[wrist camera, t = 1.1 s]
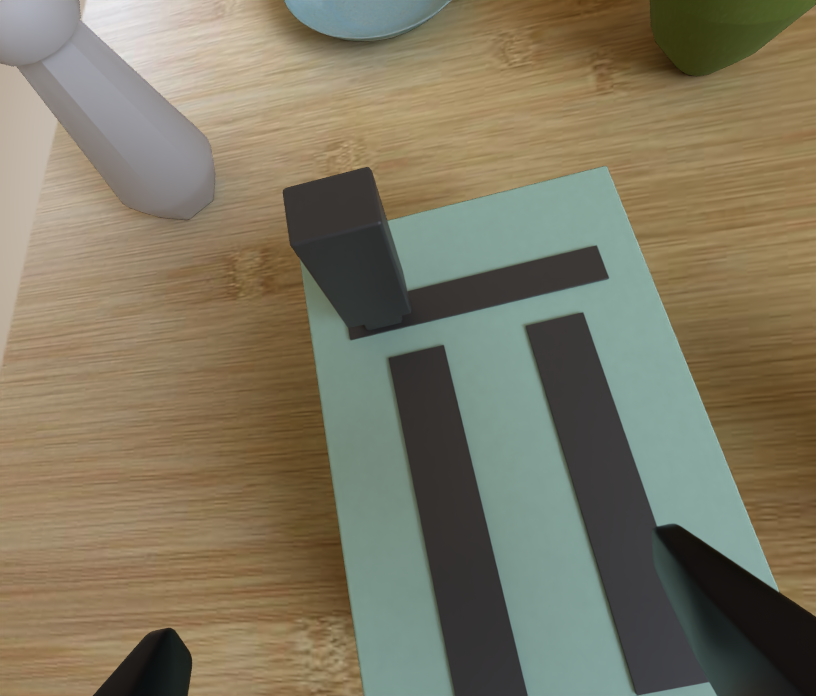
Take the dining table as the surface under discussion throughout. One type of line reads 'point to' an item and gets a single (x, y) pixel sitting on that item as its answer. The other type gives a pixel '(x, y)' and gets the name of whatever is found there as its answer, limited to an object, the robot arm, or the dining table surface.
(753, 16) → the apple
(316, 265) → the slide button
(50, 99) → the salt shaker
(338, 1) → the saucer
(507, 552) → the toaster
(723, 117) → the dining table surface
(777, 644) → the robot arm
